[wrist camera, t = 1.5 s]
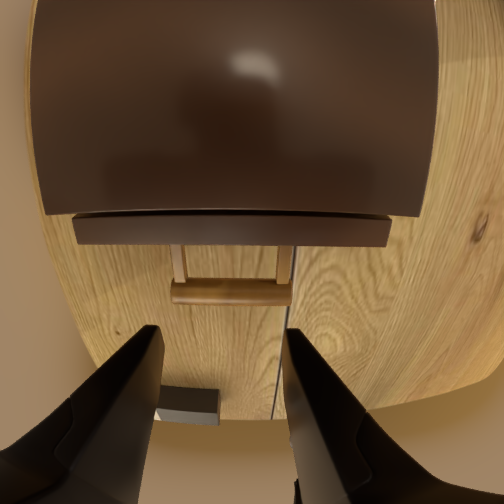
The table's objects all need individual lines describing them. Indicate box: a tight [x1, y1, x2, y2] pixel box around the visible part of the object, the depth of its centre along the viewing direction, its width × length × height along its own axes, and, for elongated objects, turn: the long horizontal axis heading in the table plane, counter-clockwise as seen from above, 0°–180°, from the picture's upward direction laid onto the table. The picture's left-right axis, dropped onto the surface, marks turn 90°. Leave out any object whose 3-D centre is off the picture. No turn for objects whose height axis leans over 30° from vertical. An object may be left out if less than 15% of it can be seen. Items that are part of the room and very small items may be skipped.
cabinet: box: [30, 0, 439, 217], centre depth 9 cm, size 15×14×9 cm
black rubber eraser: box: [154, 385, 221, 426], centre depth 27 cm, size 3×8×3 cm, turn 89°
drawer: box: [72, 210, 392, 306], centre depth 11 cm, size 18×12×7 cm
